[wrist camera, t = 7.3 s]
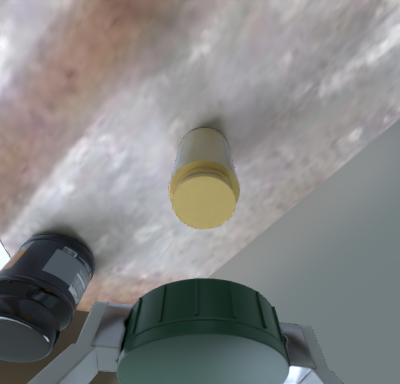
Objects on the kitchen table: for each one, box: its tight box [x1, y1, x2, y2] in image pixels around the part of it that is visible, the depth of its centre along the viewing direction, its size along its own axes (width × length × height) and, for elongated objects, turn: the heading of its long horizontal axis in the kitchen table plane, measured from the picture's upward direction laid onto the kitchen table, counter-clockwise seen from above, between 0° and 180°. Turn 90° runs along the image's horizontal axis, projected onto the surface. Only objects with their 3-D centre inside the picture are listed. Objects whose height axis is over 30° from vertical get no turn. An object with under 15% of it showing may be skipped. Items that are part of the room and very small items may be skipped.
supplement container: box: [0, 234, 95, 362], centre depth 31 cm, size 10×10×12 cm
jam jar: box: [169, 128, 240, 229], centre depth 23 cm, size 6×6×11 cm
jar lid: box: [116, 278, 290, 384], centre depth 9 cm, size 6×6×2 cm
